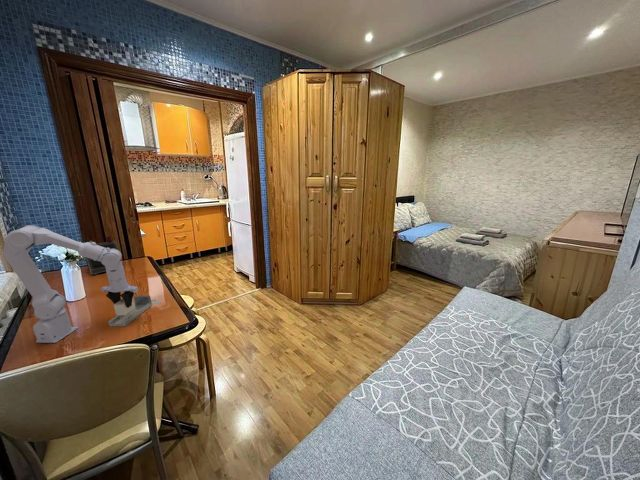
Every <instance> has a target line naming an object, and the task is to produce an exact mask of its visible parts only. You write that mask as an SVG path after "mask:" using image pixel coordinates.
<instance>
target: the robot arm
mask: <svg viewBox="0 0 640 480" xmlns="http://www.w3.org/2000/svg"><path fill="white" fill-rule="evenodd" d="M3 242H4V245H3V246H4V247H3V253H2V254H3V257H4V258H5V260H6V261H7V263H8V264H9V266H10V267H11V269H12V270H13V271H14V272H15V273H14V274H16V276H17V277H18V279H19V280H20V282H22V284H23V285H24V287H25V288H26V290H27V291H28V293H29V294H30V296H31V297H32V299H31V301H32V303H31V306H32V307H33V310H34V311H33V314H34V316H35V317H36V318H37V319H39V320H38V321H37V322H36V323H35V324H33V326H32V330H33V333H34V335H35V338H36V341H35V342H36V343H45V344H46V343H48V344H53V343H54V344H56V343H57V342H59V341H61V340H62V339H64V338H65V337H67V336H68V335H70V334H71V333H73V332H75V331H76V330H77V329H79V326H72V323H71V321H70V318H69V314H68V311H67V308H65V305H66V304H67V298H66V297H65V296H63V295H62V294H60V293H59V292H58V290H56V289H53V288H52V287H51V286H50V284H49V283H48V282H47V280H46V278H45V277H44V276H43V274H42V272H41V271H40V269H39V268H38V266H37V265H36V263H35V262H34V260H33V259H32V257H31V256H30V254H29V252H30V251H31V250H32V248H34V246H43V245H46V244H47V245H48V244H50V245H54V246H58V247H61V248H65V249H67V250H68V249H69V250H73V251H75V252H77V253H78V254H79V256H81V257H85V258H86V257H87V258H90V259H93V260H98V261H101V263H102V264H103V265H105V267H106V271H105V272H106V276H107V280H108V284H109V285H106V286H105V285H104V286H102V287H101V288H100V290H101V293H106V292H107V293H106V294H105V297H106V298H108V299H109V300H110V301H111V302H112V303H113V305H114V304H115V303H117V302H119V301H120V300H121V299H123V300H124V302H125V305H126V307H127V308H129V307H130V306H132V298H133V299H134V295H135V293H137V292H139V291H140V290H139V286H135V285H131V284H129V283H128V282H127V277H126V273H125V268H124V267H123V266H124V264H123V265H122V262H123V261H121V260H122V256H123V254H122V253H121V251H120V250H119V249H118V250H117V249H110V248H108V247H107V248H105V247H102V246H99V245H96V244H97V243H96V242H95V241H92V242H91V241H90V242H86V243H85V242H80V241H77V240H75V239H72V238H70V237H67V236H64V235H62V234H59V233H56V232H54V231H52V230H50V229H48V228H46V227H40V226H38V225H33V224H28V225H25V226H23V227H21V228H18V229H16V230H11V231H9V232H8V234H7V235H6V236H5V237H4V238H3Z"/></svg>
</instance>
